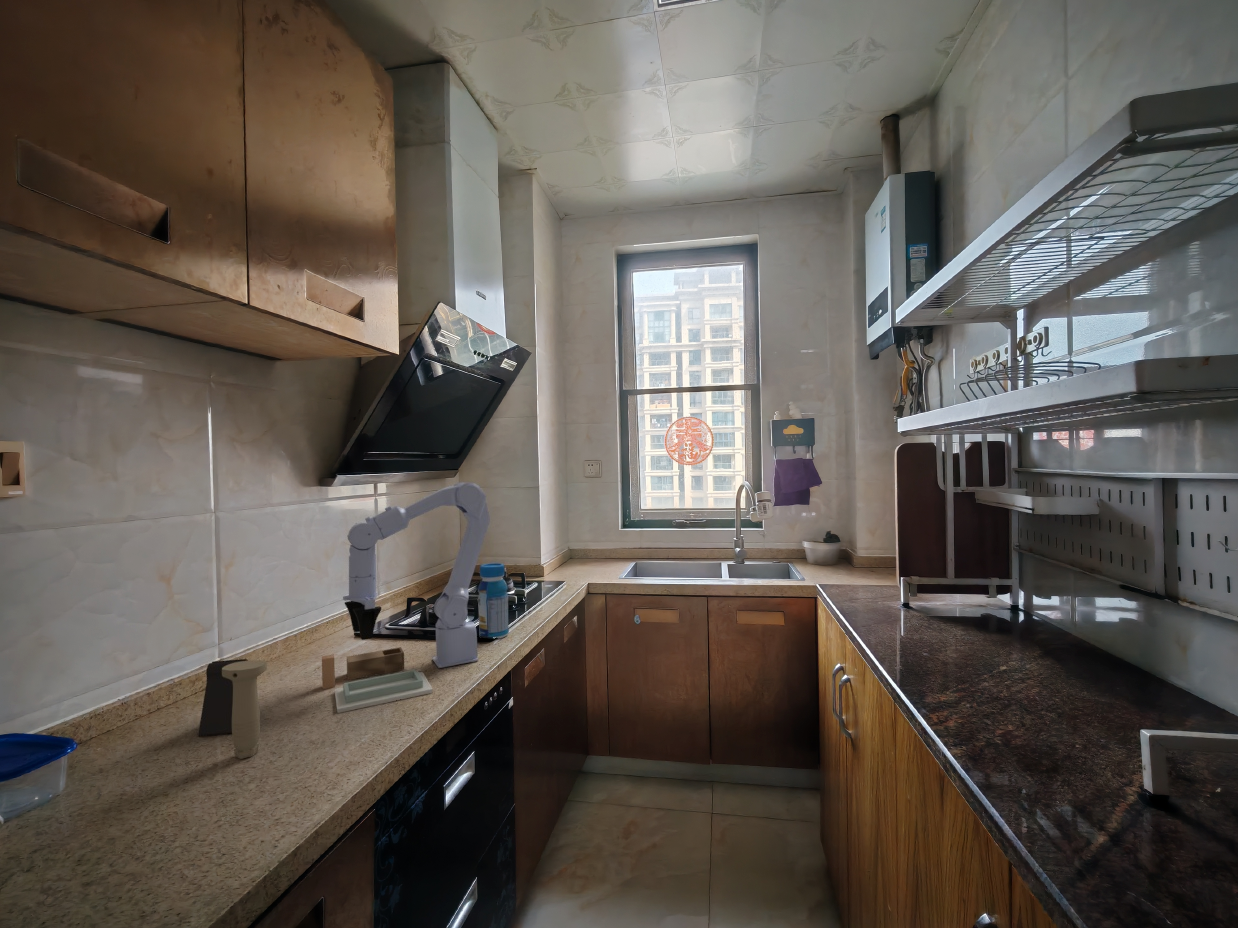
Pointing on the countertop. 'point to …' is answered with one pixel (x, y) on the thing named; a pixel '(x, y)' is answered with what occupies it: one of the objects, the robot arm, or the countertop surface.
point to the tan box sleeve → (375, 663)
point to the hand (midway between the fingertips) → (362, 634)
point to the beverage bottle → (493, 601)
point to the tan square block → (328, 671)
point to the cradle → (381, 690)
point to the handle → (245, 705)
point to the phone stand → (217, 701)
